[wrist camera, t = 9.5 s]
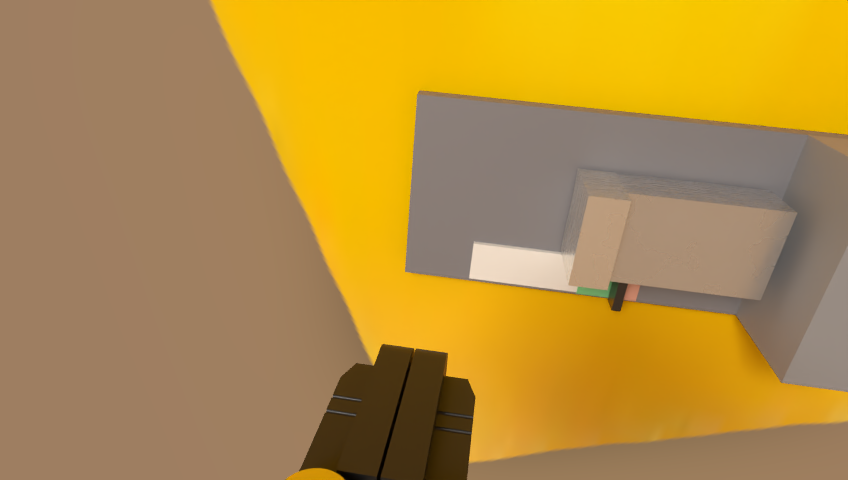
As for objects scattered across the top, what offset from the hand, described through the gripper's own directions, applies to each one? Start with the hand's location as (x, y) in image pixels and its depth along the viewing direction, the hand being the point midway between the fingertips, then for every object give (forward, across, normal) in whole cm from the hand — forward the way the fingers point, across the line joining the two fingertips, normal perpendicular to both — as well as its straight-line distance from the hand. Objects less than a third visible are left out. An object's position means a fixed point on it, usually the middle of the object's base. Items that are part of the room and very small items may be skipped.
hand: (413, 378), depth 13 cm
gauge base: (+21, -9, +4) cm, 23 cm away
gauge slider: (+20, -11, +5) cm, 23 cm away
